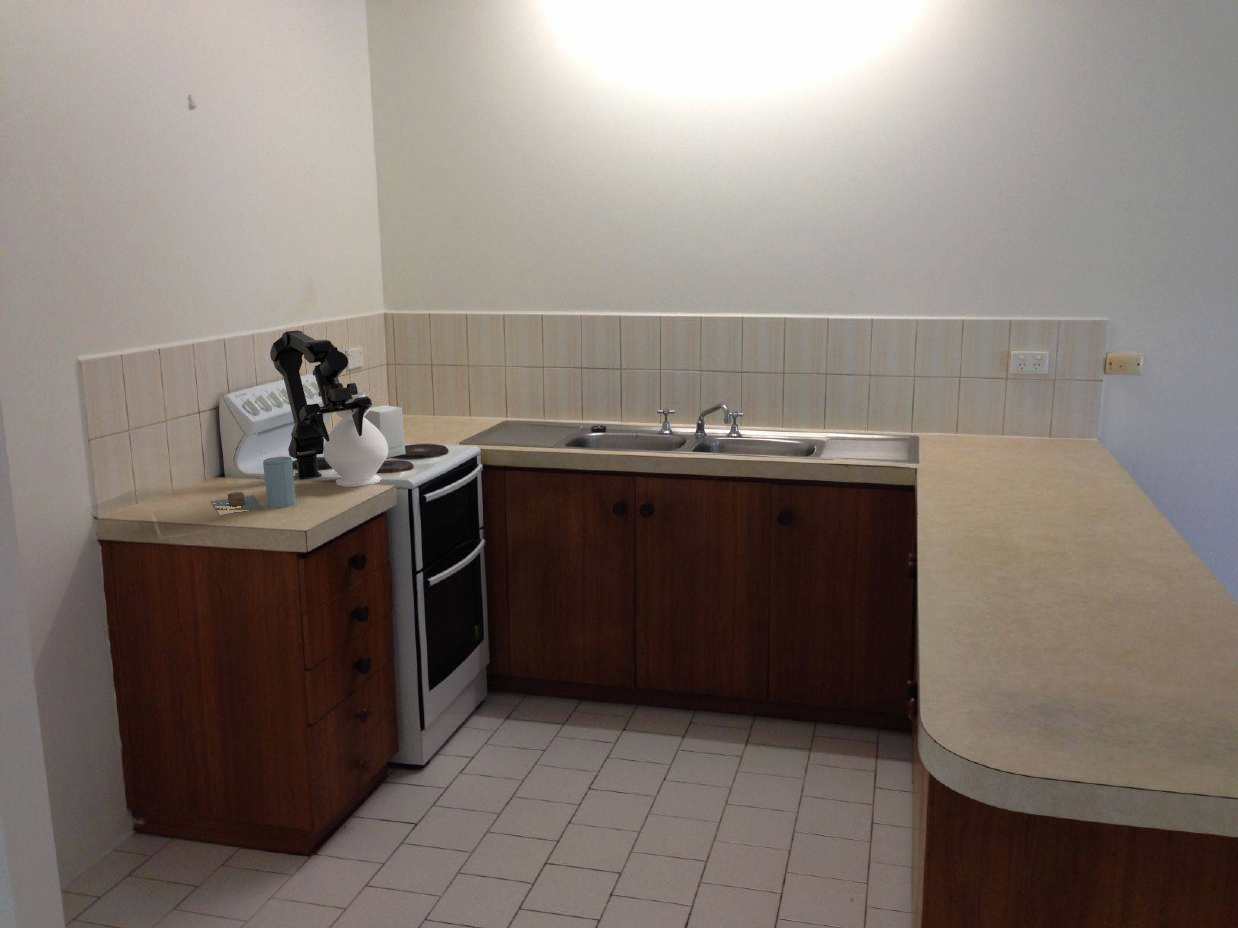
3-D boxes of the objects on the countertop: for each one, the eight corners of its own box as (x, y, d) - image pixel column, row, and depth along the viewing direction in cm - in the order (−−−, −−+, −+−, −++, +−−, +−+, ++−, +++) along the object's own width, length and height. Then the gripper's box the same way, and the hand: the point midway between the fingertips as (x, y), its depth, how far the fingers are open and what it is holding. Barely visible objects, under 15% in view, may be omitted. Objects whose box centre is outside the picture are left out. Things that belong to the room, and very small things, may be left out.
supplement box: (406, 454, 341) (403, 407, 338) (382, 459, 335) (378, 411, 331) (389, 450, 347) (385, 404, 344) (365, 455, 341) (361, 408, 337)
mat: (211, 503, 290) (210, 501, 290) (253, 496, 295) (253, 495, 295) (219, 517, 276) (219, 515, 276) (263, 510, 281) (263, 508, 281)
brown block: (227, 504, 287) (226, 493, 286) (243, 502, 288) (242, 491, 288) (230, 507, 283) (228, 496, 282) (245, 505, 285) (244, 494, 284)
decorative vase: (314, 483, 308) (305, 396, 302) (366, 470, 321) (359, 387, 315) (350, 492, 297) (342, 402, 291) (403, 479, 309) (396, 392, 304)
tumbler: (266, 504, 287) (261, 458, 284) (293, 501, 290) (288, 455, 287) (270, 511, 281) (265, 464, 278) (298, 507, 284) (293, 460, 281)
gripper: (304, 377, 281) (320, 433, 279) (371, 369, 292) (387, 423, 290) (292, 393, 290) (307, 447, 288) (357, 384, 301) (373, 436, 299)
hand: (344, 438), depth 291 cm, fingers open, 9 cm apart
